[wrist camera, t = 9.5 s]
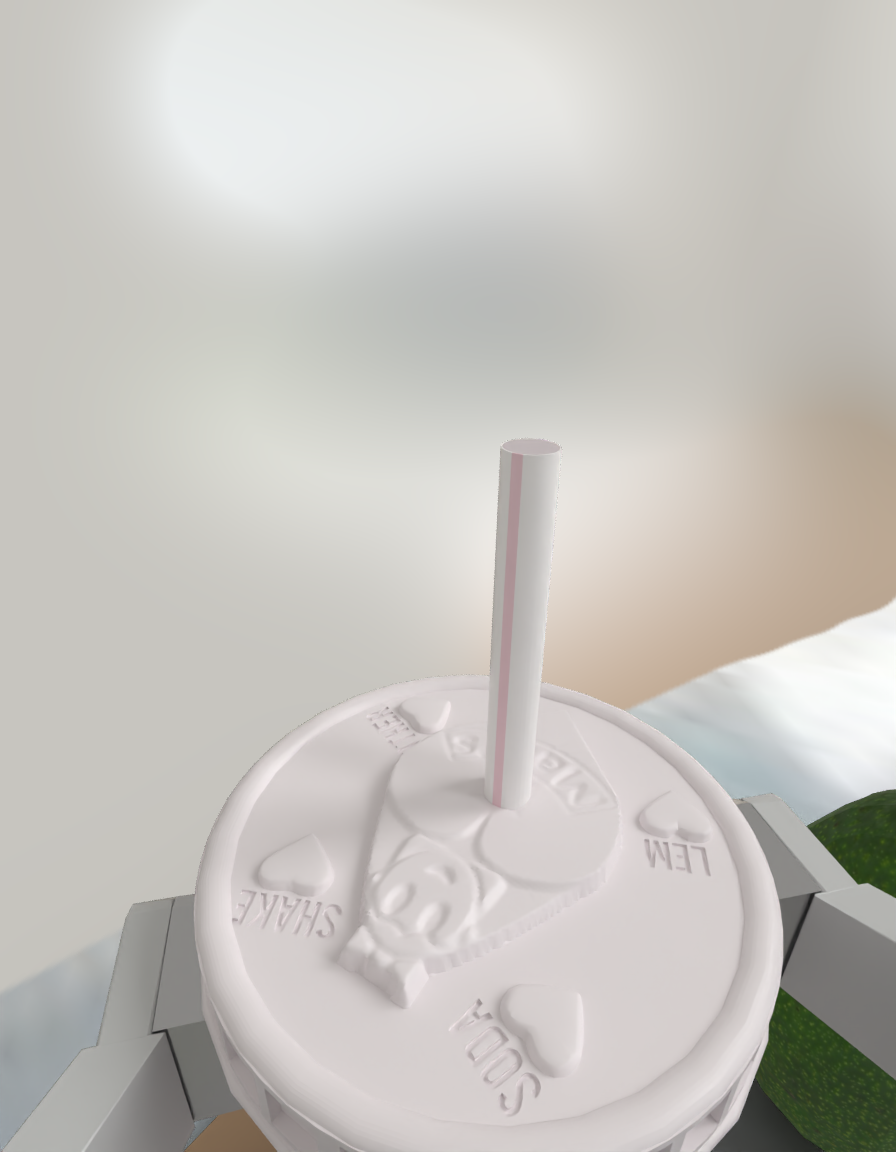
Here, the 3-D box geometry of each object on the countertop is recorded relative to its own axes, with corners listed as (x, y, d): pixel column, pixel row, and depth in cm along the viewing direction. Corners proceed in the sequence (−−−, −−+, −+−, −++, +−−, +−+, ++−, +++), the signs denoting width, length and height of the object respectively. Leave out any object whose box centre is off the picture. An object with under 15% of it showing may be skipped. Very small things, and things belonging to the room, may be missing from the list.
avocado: (978, 1065, 22) (1159, 805, 17) (941, 1318, 17) (1187, 1061, 12) (740, 919, 27) (821, 679, 22) (653, 1084, 22) (730, 820, 16)
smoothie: (692, 1150, 13) (947, 435, 6) (555, 1700, 8) (1031, 1005, 2) (419, 973, 16) (410, 368, 10) (199, 1293, 11) (-119, 497, 5)
